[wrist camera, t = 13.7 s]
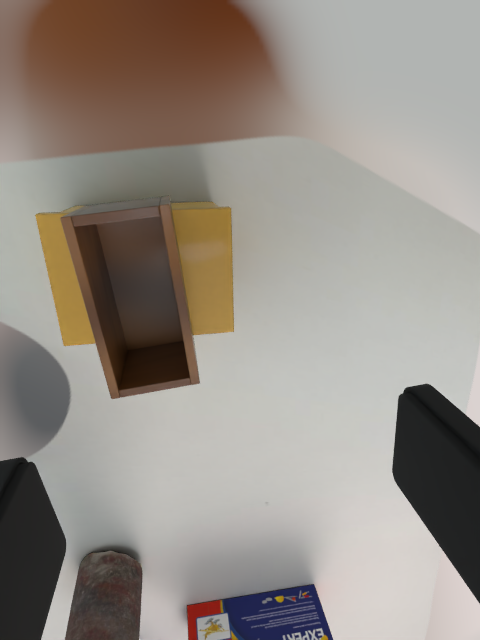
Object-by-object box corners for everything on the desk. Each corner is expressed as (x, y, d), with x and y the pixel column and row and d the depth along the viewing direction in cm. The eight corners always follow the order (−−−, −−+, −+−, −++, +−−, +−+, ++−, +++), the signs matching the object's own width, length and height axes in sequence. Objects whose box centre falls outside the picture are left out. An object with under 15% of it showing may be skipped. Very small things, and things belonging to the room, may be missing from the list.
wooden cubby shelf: (84, 205, 22) (59, 217, 17) (169, 195, 23) (169, 203, 18) (122, 353, 26) (111, 399, 21) (194, 342, 27) (199, 383, 22)
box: (216, 197, 31) (231, 207, 24) (219, 295, 34) (234, 331, 27) (69, 201, 29) (34, 214, 22) (88, 304, 33) (63, 346, 25)
